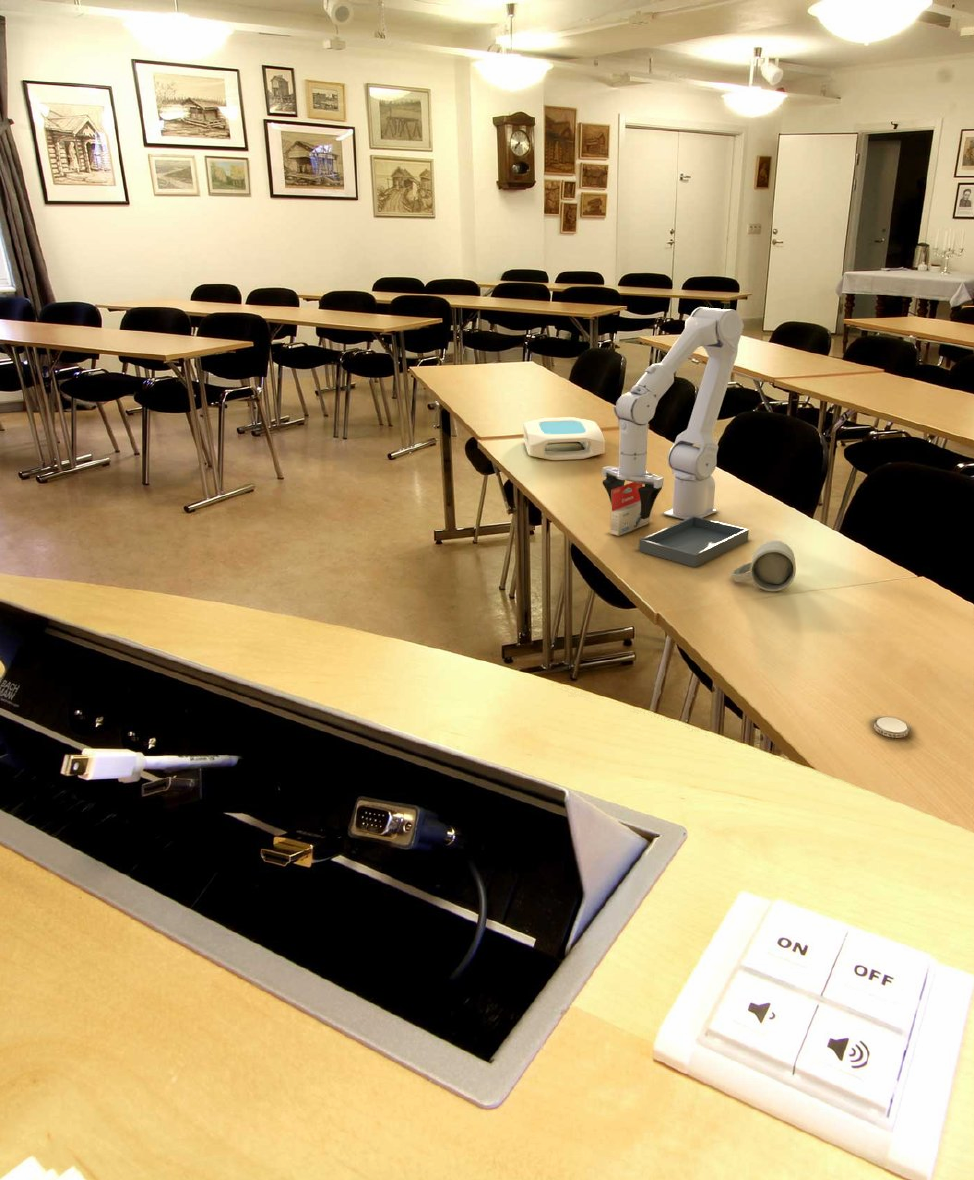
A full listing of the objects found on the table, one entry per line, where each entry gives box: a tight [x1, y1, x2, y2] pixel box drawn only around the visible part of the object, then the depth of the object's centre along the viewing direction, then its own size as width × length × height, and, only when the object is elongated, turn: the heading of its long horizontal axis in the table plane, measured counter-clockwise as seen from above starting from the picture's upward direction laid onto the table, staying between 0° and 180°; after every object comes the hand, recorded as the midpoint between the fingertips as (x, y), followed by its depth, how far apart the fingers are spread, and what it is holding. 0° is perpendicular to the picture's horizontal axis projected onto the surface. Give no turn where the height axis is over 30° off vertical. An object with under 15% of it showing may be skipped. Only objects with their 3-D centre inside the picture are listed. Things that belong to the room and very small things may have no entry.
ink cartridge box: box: [609, 482, 651, 537], centre depth 179 cm, size 2×11×10 cm, turn 134°
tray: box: [638, 516, 750, 568], centre depth 170 cm, size 19×13×2 cm
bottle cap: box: [873, 716, 910, 739], centre depth 107 cm, size 4×4×1 cm
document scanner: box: [522, 416, 606, 461], centre depth 246 cm, size 21×28×6 cm
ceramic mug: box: [731, 540, 797, 592], centre depth 150 cm, size 11×8×8 cm
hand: (630, 514), depth 180 cm, fingers open, 7 cm apart
